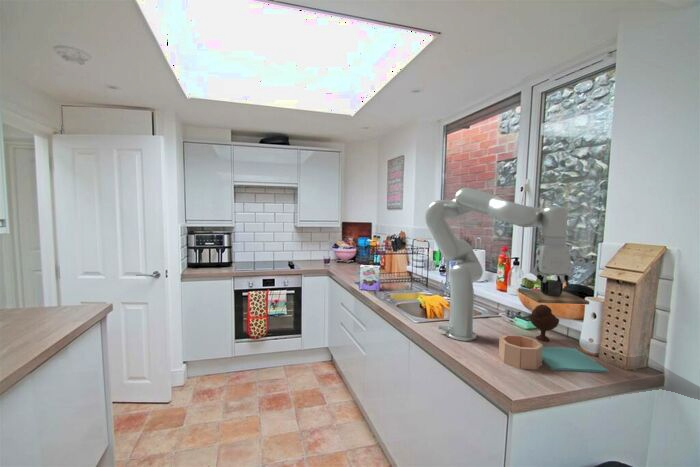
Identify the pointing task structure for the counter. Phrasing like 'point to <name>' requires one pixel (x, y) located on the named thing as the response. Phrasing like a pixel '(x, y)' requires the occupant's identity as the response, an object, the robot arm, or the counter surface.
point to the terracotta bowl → (520, 351)
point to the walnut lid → (553, 295)
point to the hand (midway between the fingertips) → (551, 292)
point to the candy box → (369, 277)
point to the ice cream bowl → (543, 321)
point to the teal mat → (569, 360)
